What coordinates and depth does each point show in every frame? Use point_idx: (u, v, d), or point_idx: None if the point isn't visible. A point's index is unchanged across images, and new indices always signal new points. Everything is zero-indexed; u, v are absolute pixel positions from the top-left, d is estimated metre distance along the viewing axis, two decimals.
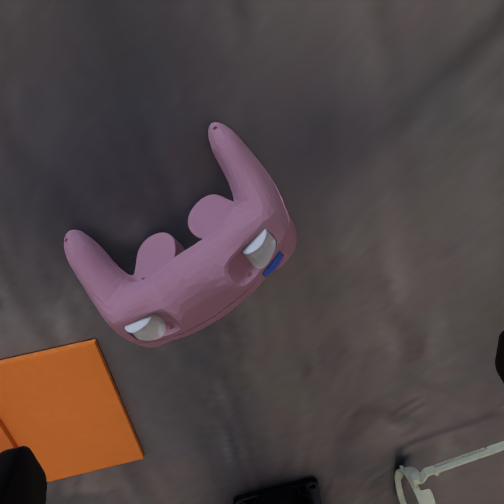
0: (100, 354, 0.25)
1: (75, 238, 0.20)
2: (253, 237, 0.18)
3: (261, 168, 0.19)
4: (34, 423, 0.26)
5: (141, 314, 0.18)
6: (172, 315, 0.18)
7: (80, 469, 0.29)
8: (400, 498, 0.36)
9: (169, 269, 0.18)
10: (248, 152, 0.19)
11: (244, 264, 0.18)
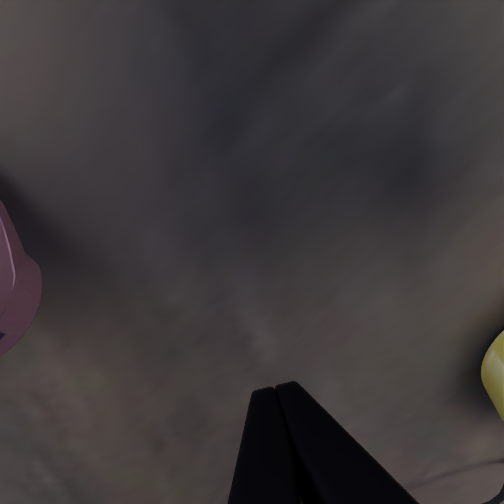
0: None
1: None
2: None
3: None
4: None
5: None
6: None
7: None
8: None
9: None
10: None
11: None
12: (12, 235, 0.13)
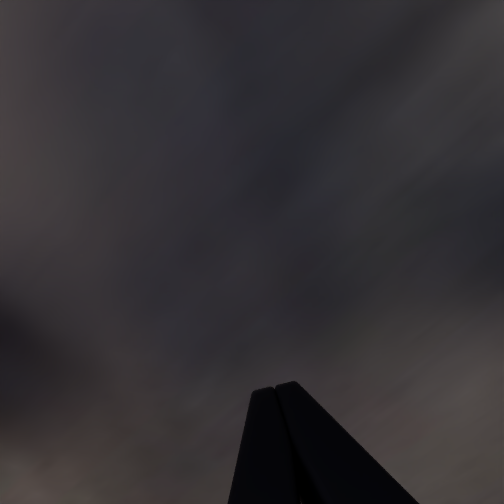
0: None
1: None
2: None
3: None
4: None
5: None
6: None
7: None
8: None
9: None
10: None
11: None
12: None
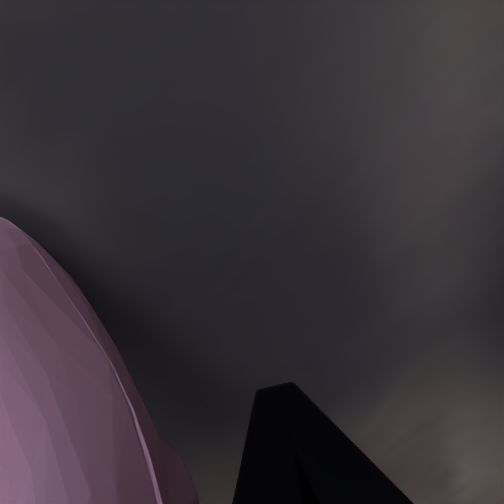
0: None
1: None
2: None
3: (85, 364, 0.06)
4: None
5: None
6: None
7: None
8: None
9: None
10: (40, 317, 0.06)
11: None
12: (145, 420, 0.07)
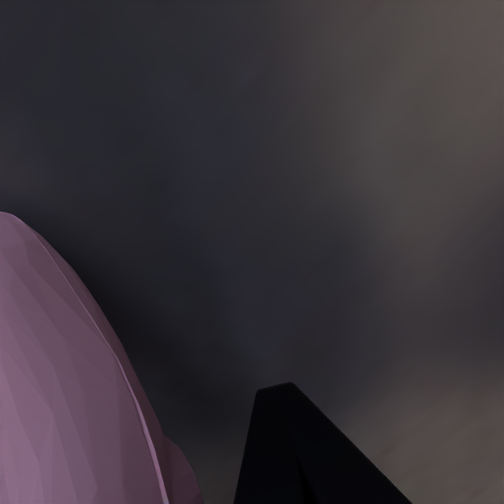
0: None
1: None
2: None
3: (92, 359, 0.06)
4: None
5: None
6: None
7: None
8: None
9: None
10: (47, 312, 0.06)
11: None
12: (150, 416, 0.07)
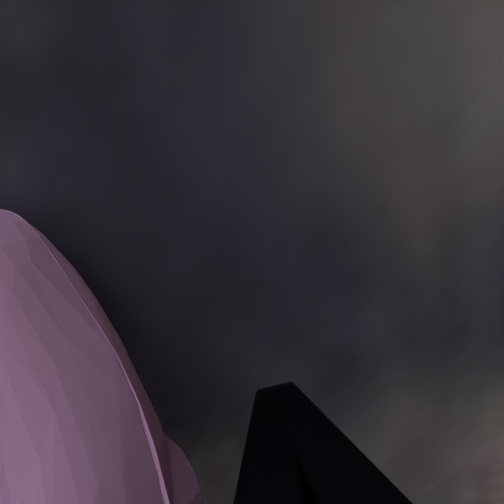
0: None
1: None
2: None
3: (94, 358, 0.06)
4: None
5: None
6: None
7: None
8: None
9: None
10: (49, 310, 0.06)
11: None
12: (151, 415, 0.07)
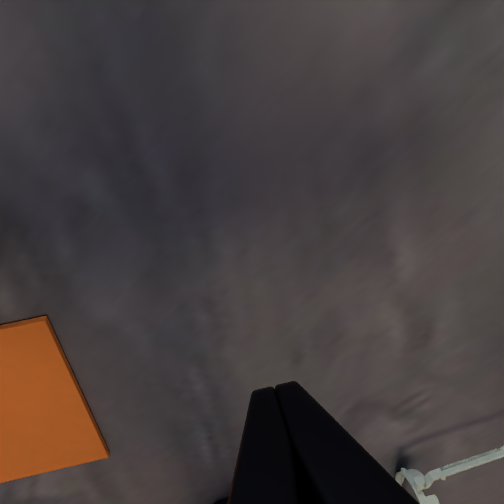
0: (52, 334, 0.21)
1: None
2: None
3: None
4: None
5: None
6: None
7: (34, 469, 0.25)
8: None
9: None
10: None
11: None
12: None
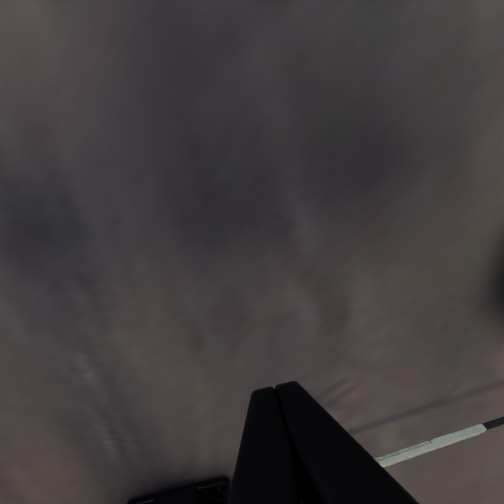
0: None
1: None
2: None
3: None
4: None
5: None
6: None
7: None
8: None
9: None
10: None
11: None
12: None
